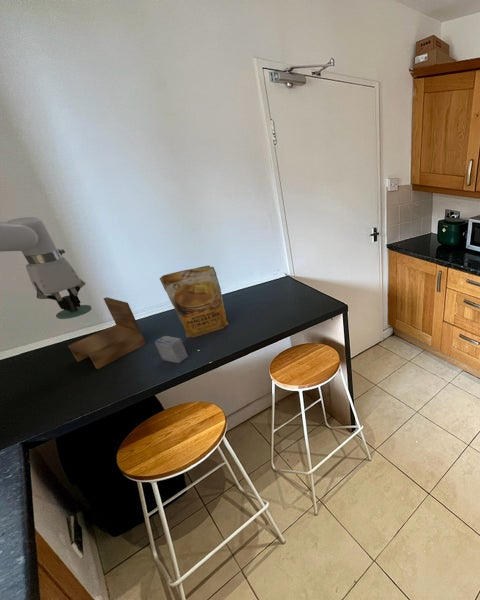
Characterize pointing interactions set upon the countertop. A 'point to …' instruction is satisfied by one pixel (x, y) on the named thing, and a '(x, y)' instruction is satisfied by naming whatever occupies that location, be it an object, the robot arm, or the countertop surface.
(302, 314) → the countertop surface
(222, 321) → the pancake mix bag
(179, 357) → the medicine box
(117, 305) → the wooden bookend
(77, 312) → the lid
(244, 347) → the countertop surface
